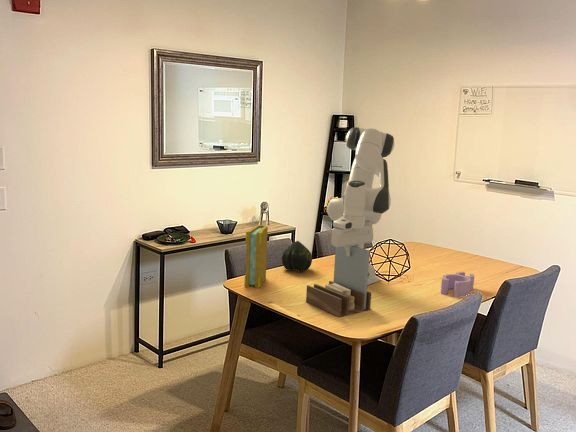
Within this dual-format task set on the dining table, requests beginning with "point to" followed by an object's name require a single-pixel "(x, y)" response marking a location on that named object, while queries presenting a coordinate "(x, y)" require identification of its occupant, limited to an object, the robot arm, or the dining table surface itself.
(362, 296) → the rack
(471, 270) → the dining table surface
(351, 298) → the offcut middle
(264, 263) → the book
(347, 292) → the offcut top
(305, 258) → the squash
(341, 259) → the sheet
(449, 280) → the clip
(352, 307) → the offcut bottom
